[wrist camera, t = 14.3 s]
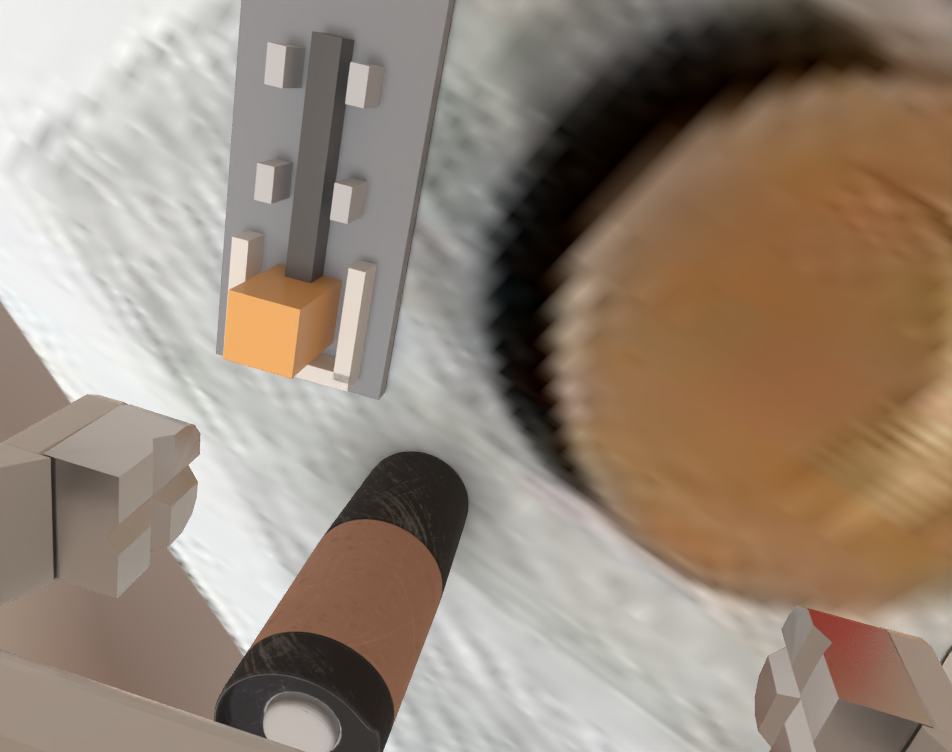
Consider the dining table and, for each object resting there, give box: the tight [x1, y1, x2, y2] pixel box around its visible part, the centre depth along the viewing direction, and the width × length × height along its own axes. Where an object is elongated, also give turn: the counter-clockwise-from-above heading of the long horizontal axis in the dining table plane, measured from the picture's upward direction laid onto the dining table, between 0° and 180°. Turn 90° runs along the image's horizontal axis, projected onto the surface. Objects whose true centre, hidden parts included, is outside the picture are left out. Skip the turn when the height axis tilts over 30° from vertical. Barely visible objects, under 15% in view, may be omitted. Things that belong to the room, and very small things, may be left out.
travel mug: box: [214, 452, 468, 752], centre depth 40 cm, size 8×8×20 cm
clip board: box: [216, 0, 455, 400], centre depth 40 cm, size 11×28×4 cm, turn 168°
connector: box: [223, 31, 355, 379], centre depth 39 cm, size 17×4×6 cm, turn 168°
